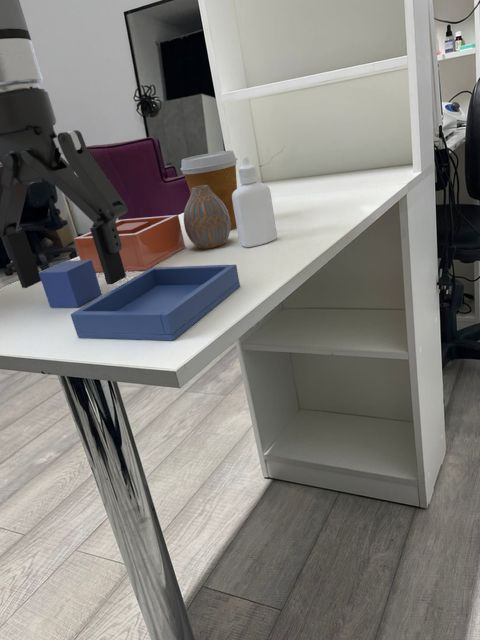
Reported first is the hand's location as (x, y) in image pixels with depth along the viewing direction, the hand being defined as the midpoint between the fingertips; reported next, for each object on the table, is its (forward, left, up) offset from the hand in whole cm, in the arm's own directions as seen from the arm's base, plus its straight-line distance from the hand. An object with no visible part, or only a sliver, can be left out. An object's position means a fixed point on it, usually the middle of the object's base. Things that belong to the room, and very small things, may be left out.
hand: (72, 282), depth 66 cm
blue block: (0, 0, -2) cm, 2 cm away
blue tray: (+15, -3, -2) cm, 15 cm away
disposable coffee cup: (+3, +34, -3) cm, 34 cm away
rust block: (-3, +17, -2) cm, 17 cm away
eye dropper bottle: (+15, +23, -3) cm, 27 cm away
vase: (+7, +23, -3) cm, 24 cm away
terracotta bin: (-3, +17, -2) cm, 17 cm away
